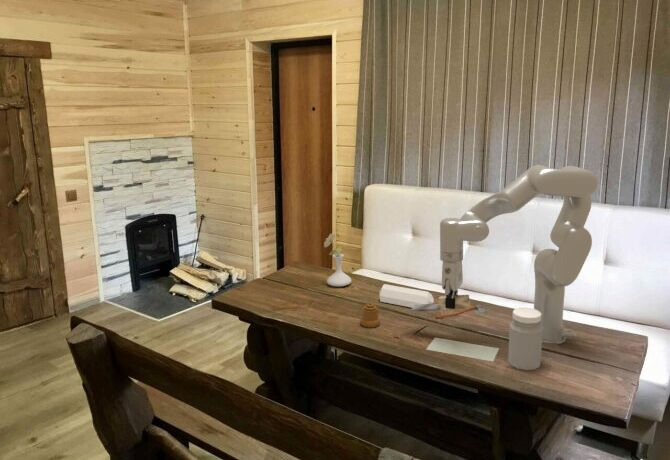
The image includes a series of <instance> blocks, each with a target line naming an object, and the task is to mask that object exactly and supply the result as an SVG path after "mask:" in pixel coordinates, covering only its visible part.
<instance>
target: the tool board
mask: <svg viewBox="0 0 670 460" xmlns="http://www.w3.org/2000/svg"><path fill="white" fill-rule="evenodd" d="M425 350H426V351H432V352H439V353H444V354H449V355H455V356H460V357H466V358H472V359H475V360H476V359H477V360H483V361H488V362H494V360H495V359H496V357H497V355H498V352H499V350H500V348H498V347H492V346H486V345H480V344H474V343H469V342H464V341H463V342H462V341H457V340H452V339H445V338H439V337H434V338H433V339H432V340H431V342H430V343H429V344H428V346H427V348H426V349H425Z"/></svg>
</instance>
